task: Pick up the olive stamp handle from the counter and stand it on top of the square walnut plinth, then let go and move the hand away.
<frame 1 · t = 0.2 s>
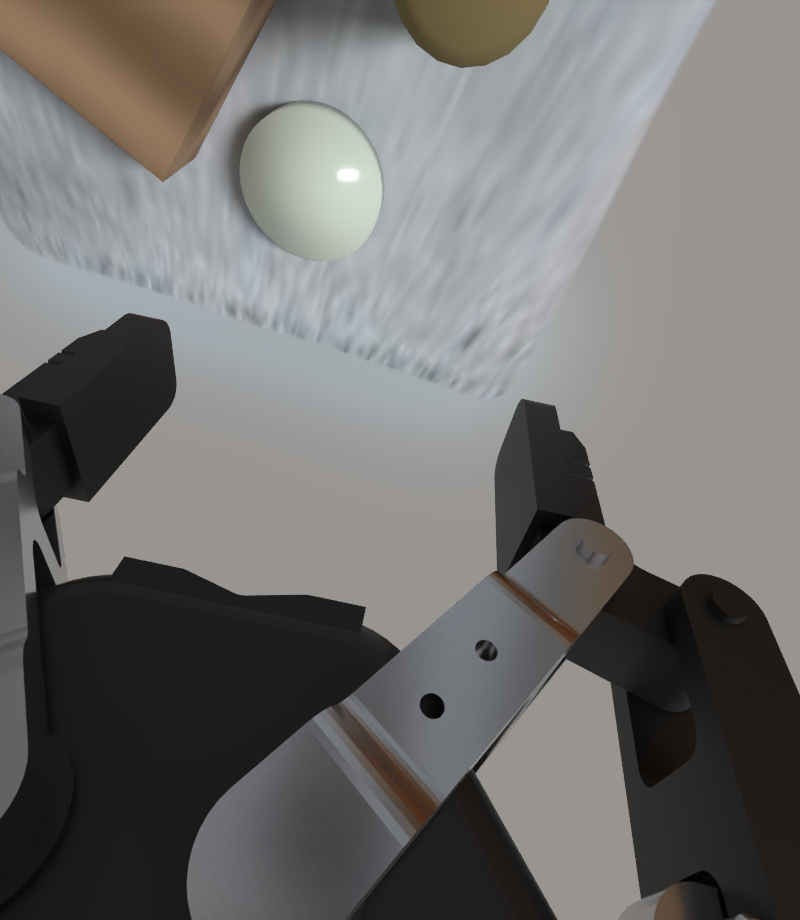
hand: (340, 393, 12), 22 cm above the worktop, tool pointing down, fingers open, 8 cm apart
white domed disc: (317, 180, 30), on the worktop
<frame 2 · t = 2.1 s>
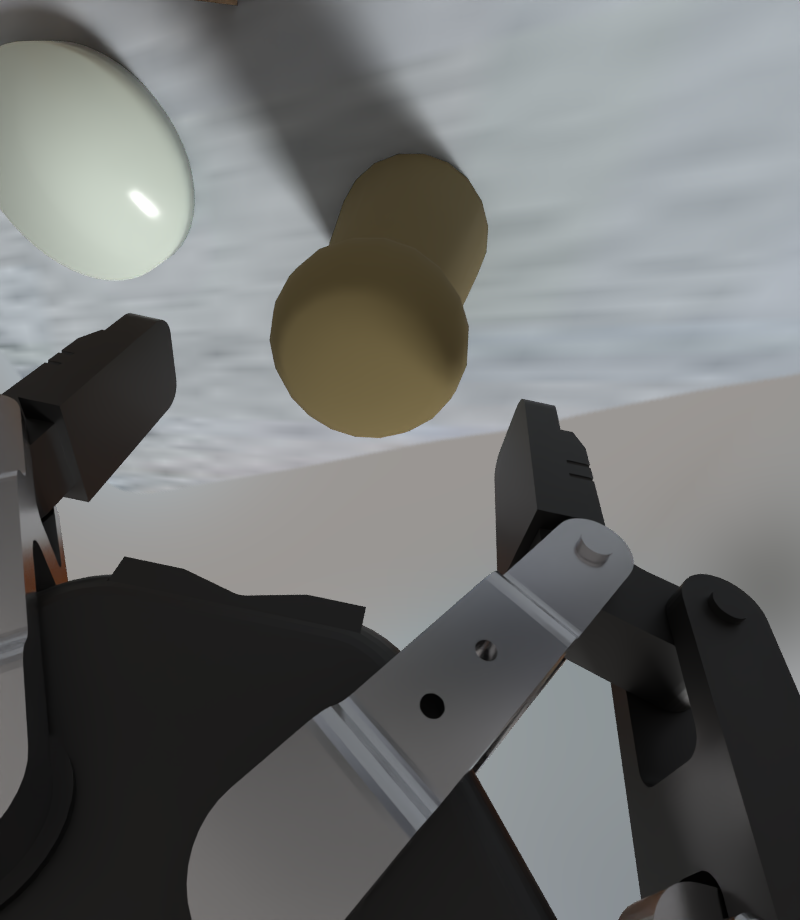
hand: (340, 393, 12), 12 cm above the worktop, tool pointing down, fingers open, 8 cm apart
olive stamp handle: (412, 237, 21), on the worktop
white domed disc: (101, 166, 21), on the worktop
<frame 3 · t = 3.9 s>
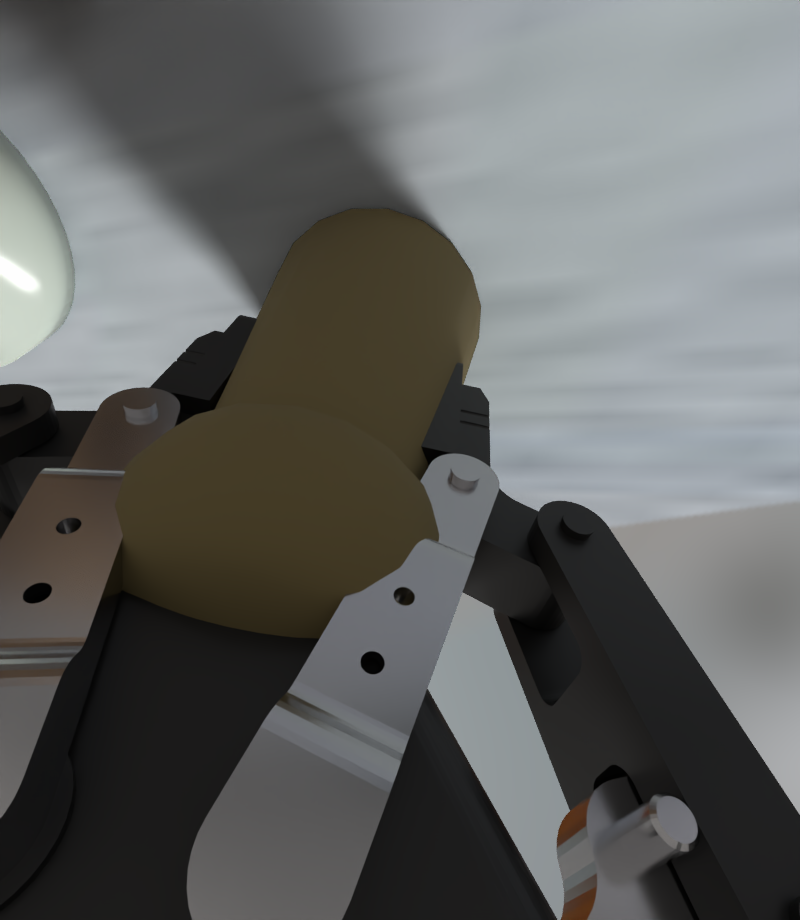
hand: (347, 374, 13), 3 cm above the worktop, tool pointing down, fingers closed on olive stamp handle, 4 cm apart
olive stamp handle: (377, 316, 15), on the worktop, touching gripper
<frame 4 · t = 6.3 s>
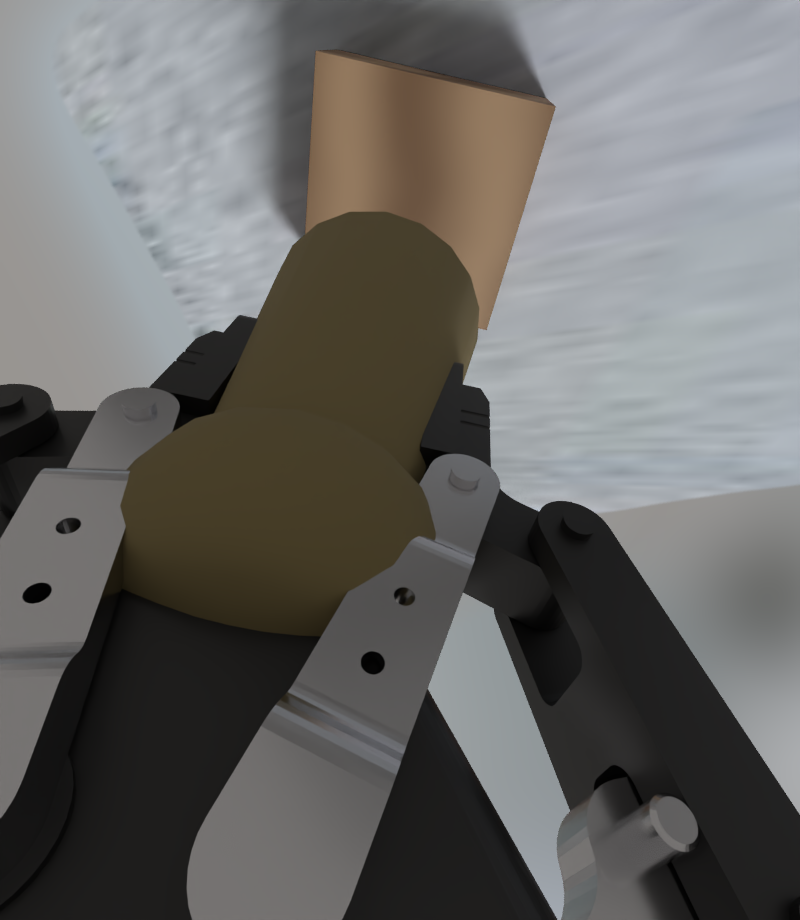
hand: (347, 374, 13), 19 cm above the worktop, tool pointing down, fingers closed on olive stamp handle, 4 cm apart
olive stamp handle: (376, 319, 15), point 16 cm above the worktop, touching gripper
walnut plinth: (420, 190, 27), on the worktop
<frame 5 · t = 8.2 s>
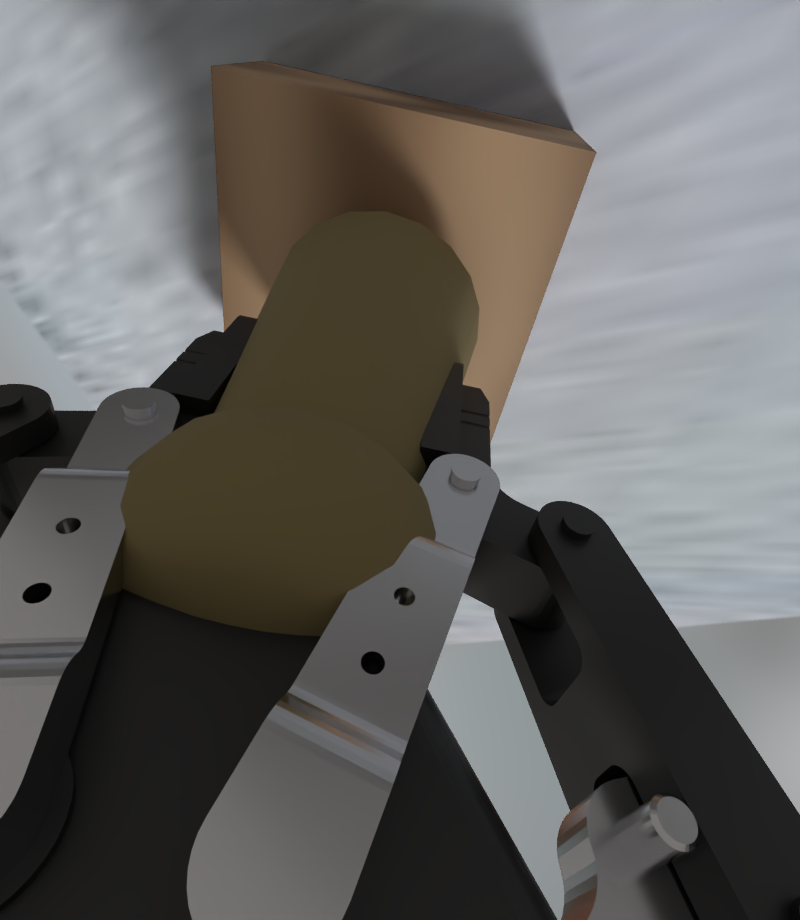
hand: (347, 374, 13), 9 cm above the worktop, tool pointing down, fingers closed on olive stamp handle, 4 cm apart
olive stamp handle: (376, 318, 15), point 5 cm above the worktop, touching gripper
walnut plinth: (393, 256, 19), on the worktop
when the fingers open (9 cm above the worktop, at t = 9.0 s): olive stamp handle drops 1 cm, resting on walnut plinth.
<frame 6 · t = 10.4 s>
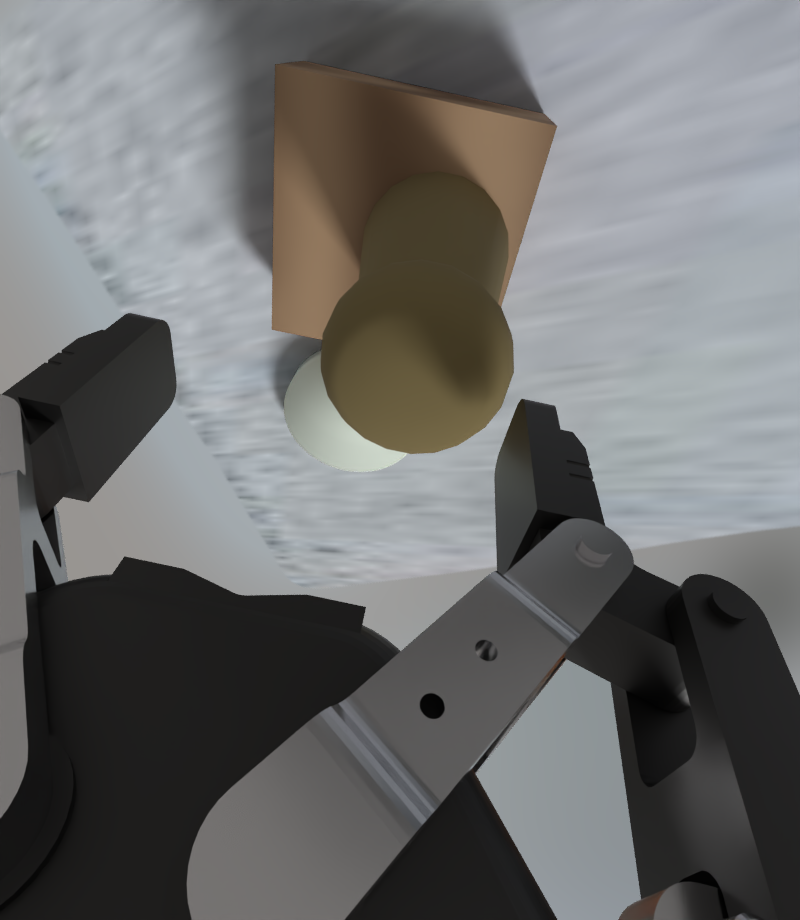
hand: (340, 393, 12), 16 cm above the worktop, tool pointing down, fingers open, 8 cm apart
olive stamp handle: (434, 252, 21), point 4 cm above the worktop, touching walnut plinth
white domed disc: (356, 402, 31), on the worktop
walnut plinth: (403, 216, 24), on the worktop
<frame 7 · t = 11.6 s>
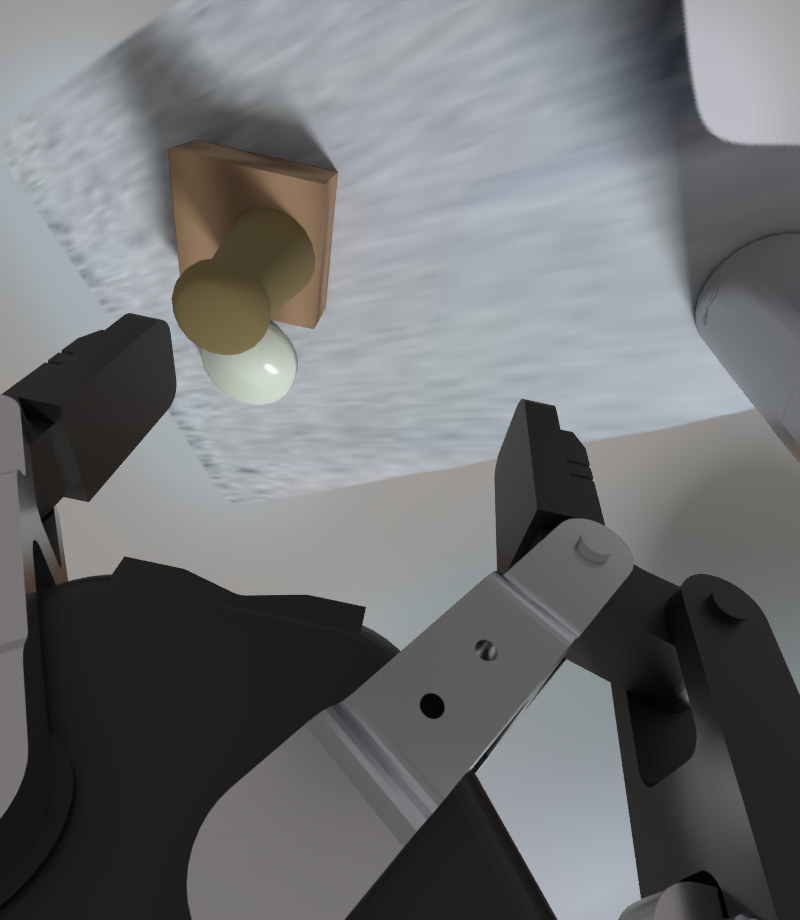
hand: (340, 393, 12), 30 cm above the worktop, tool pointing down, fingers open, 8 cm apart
olive stamp handle: (273, 253, 36), point 4 cm above the worktop, touching walnut plinth
white domed disc: (254, 355, 46), on the worktop
walnut plinth: (265, 231, 39), on the worktop
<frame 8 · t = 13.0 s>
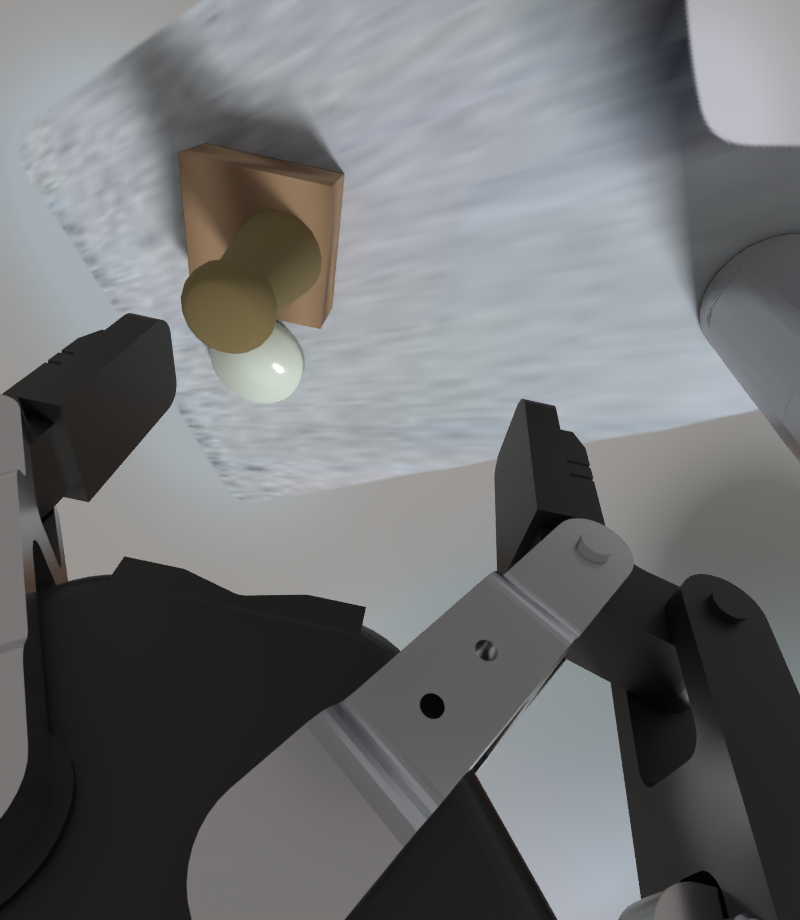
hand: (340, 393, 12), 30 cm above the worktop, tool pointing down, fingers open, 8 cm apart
olive stamp handle: (280, 254, 37), point 4 cm above the worktop, touching walnut plinth
white domed disc: (261, 354, 47), on the worktop
walnut plinth: (273, 232, 39), on the worktop
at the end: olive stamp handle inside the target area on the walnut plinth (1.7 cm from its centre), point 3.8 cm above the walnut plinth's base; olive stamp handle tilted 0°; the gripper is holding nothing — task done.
